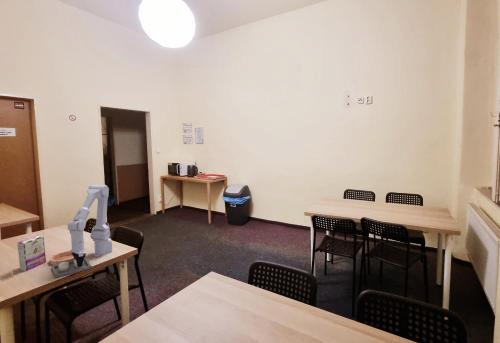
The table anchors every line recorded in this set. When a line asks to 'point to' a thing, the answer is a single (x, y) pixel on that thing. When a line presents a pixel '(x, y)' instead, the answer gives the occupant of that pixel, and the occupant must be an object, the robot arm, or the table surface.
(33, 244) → the candy bar box
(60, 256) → the bowl
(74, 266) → the white rounded piece
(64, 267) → the white rounded piece
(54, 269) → the parts tray
